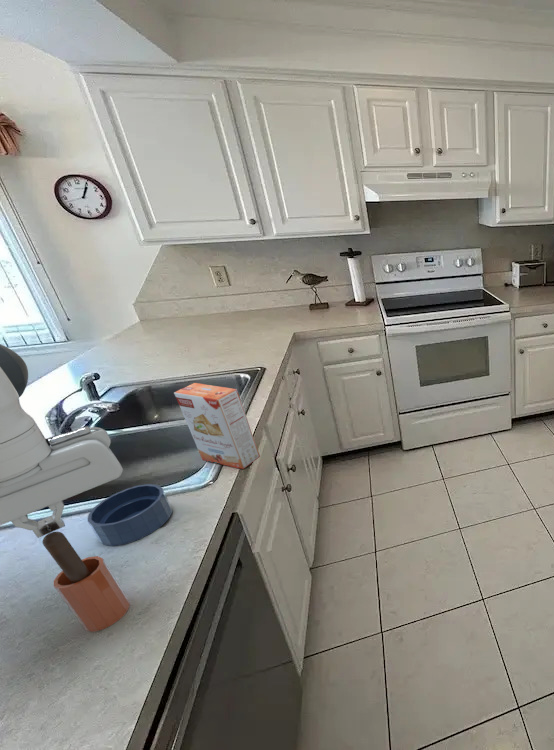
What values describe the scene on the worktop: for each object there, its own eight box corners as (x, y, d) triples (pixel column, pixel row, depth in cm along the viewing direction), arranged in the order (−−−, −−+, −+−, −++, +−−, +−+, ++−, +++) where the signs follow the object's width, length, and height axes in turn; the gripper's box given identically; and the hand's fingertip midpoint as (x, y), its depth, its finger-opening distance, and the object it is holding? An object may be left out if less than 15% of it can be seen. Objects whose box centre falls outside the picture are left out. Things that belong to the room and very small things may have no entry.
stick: (96, 622, 68) (35, 542, 58) (102, 610, 70) (44, 530, 60) (113, 618, 69) (56, 538, 59) (118, 606, 70) (63, 526, 60)
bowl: (88, 555, 81) (74, 533, 79) (117, 512, 92) (105, 492, 89) (161, 538, 85) (149, 516, 82) (180, 498, 95) (171, 478, 93)
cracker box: (201, 462, 108) (171, 391, 99) (221, 449, 113) (195, 381, 104) (242, 471, 104) (215, 398, 95) (261, 457, 109) (237, 387, 100)
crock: (78, 639, 66) (44, 593, 61) (96, 607, 71) (66, 562, 66) (122, 626, 68) (92, 581, 63) (137, 596, 73) (110, 551, 68)
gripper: (97, 414, 64) (134, 484, 70) (-123, 483, 50) (-54, 563, 56) (105, 428, 60) (143, 500, 66) (-131, 507, 46) (-56, 589, 52)
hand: (51, 530), depth 61 cm, fingers closed
